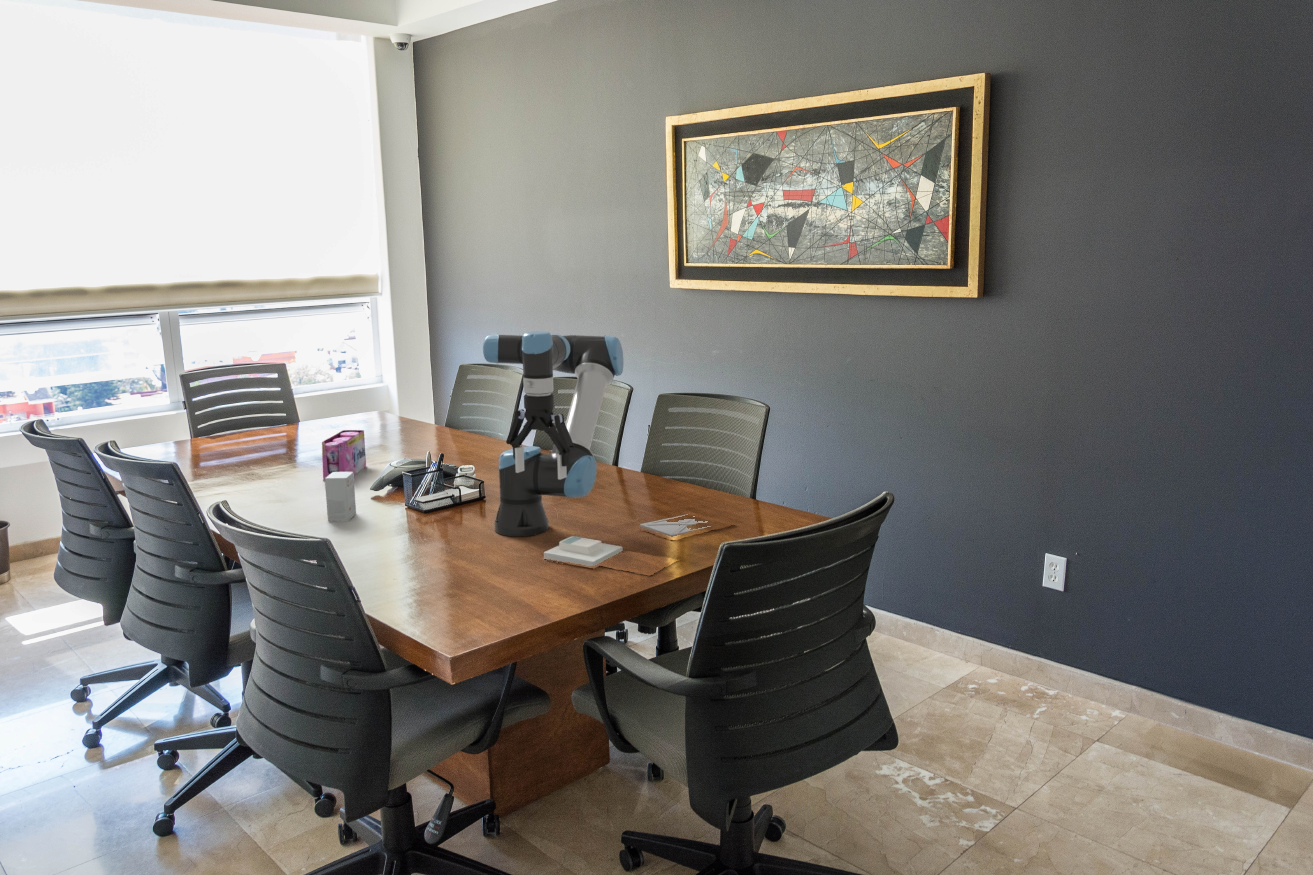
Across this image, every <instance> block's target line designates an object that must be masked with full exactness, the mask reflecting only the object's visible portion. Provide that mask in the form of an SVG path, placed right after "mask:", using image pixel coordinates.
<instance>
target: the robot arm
mask: <svg viewBox="0 0 1313 875" xmlns="http://www.w3.org/2000/svg"><path fill="white" fill-rule="evenodd" d="M482 345H483V346H482V353H483V358H484V360H486V362H488V363H491V364H492V363H493V364H507V365H508V364H509V365H522V379H523V383H522V384H523V393H524V396H523V407H524V408H521V409H517V410H515V412H514V420H513V422H512V424H511V427H510V430H509V432H508V435H507V438H506V440H505V443H506V445H510V446H511V447H512V448H510V449H508V450H505V451H503V452H501V453H500V455H499V459H498V460H499V461H498V462H499V464H498V474H499V475H498V476H499V477H498V478H499V496H500V498H499V506H498V510H497V513H496V516H495V520H494V531H495V532H496V533H498V534H500V535H501V536H508V537H529V536H536V535H540V534H542V533H545V532H547V531H548V530H549V527H550V526H549V518H548V516H547V514H546V510H545V507H544V503H543V497H542V496H550V497H551V496H552V497H561V498H562V497H563V498H569V499H572V498H584V497H585V496H588V495H589V494H590V493H591V491H592V490H593V487H594V485H595V482H596V478H597V472H598V466H597V461H596V460H597V459H596V458H595V457H594V453H593V452H592V450H591V446H592V441H593V438H594V436H595V431H596V428H597V423H598V420H599V419H598V418H599V415H600V411H601V409H602V405H603V404H602V403H603V400H604V395H605V392H606V389H607V387H609V386H610V385H611V384H612V383H613V382H614V378H615V376H616V377H619V376H621V375H622V374H623V371H624V352H623V350H624V349H623V347H622V343H621V340H620V339H619V338H618V337H616V336H610V335H609V336H608V335H603V336H600V335H578V334H577V335H576V334H575V335H573V334H572V335H571V334H570V335H560V334H551V333H550V332H548V331H527V332H525V333H524V334H523V335H520V334H519V335H515V334H499V333H497V334H489V335H487V336H486V337H485V339H484V341H483V344H482ZM554 371H556V372H559V373H565V374H571V375H574V376H575V377H576V378H577V381H576V385H575V388H574V391H573V395H572V399H571V401H570V402H571V403H570V405H569V409H568V413H567V417H566V421H565V416H564V414H563V413H560V414H554V411H553V409H554V407H555V405H554V404H555V400H554V398H555V397H554V394H553V392H554V390H555V389H554ZM524 419H525V420H526V422H525V423H524ZM523 423H524V425H523ZM521 428H522V429H521ZM536 430H537V431H540V432H542V431H544V433H545V434H547V436H548V437H549V438H550V440H551V441H552V443H553V444H554V445H553V446H552V450H551V453H543V452H542V451H543V450H542V449H541V447H539V446H536V445H535V446H532V445H531V446H523V443H524V441H525V440H526V438H527V437H528V435H530V433H531V432H532V431H536Z"/></svg>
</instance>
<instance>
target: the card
mask: <svg viewBox="0 0 1313 875" xmlns="http://www.w3.org/2000/svg"><path fill="white" fill-rule="evenodd" d="M601 543H602V540H596V539H592V538H586V537H581V536H576V535H571V536H569V537H566V538H565V539H562V540H560V541H559V543H558V546H559V549H560V550H565V551H571V552H576V553H581V554H587V555H589V554H591V553H593V552H595V551H597V550H599V549H601Z"/></svg>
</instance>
